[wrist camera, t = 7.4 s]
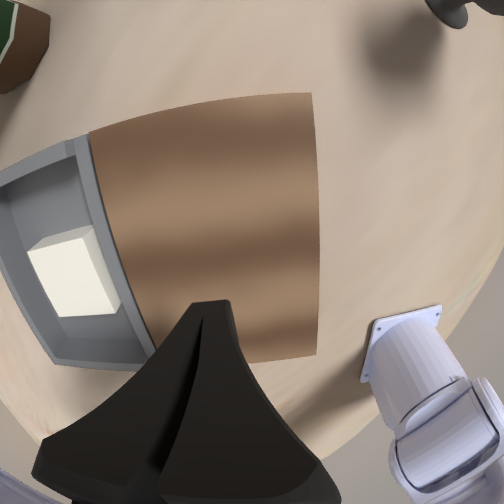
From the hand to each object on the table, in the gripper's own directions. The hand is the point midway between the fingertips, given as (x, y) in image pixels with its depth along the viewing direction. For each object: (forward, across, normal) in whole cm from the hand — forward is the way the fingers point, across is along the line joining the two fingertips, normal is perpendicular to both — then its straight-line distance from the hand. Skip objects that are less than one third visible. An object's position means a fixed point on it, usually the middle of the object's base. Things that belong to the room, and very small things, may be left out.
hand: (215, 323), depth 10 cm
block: (+9, +12, +1) cm, 15 cm away
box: (+10, +13, +1) cm, 16 cm away
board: (+10, +1, +1) cm, 10 cm away
